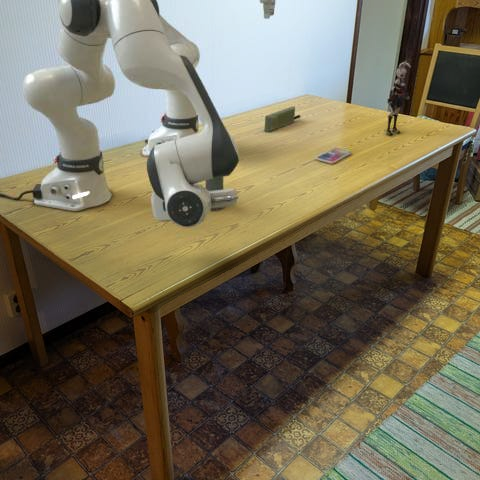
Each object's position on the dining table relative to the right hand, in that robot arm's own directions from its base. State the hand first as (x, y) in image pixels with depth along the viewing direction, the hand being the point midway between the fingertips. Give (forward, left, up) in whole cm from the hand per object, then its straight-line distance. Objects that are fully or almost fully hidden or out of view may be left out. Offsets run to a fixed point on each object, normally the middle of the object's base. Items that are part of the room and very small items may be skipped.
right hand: (268, 16), depth 163 cm
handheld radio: (+2, +43, -48) cm, 64 cm away
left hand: (-8, -65, -36) cm, 74 cm away
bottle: (-8, -43, -48) cm, 65 cm away
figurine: (+48, +42, -48) cm, 80 cm away
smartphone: (+25, +7, -48) cm, 55 cm away
